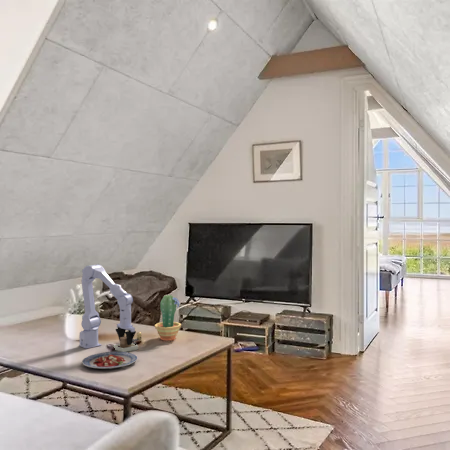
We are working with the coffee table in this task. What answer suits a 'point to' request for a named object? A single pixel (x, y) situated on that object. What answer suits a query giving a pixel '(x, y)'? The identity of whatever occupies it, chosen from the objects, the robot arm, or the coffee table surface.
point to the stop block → (124, 342)
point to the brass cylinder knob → (137, 337)
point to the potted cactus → (168, 319)
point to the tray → (128, 349)
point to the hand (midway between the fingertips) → (125, 343)
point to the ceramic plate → (109, 360)
